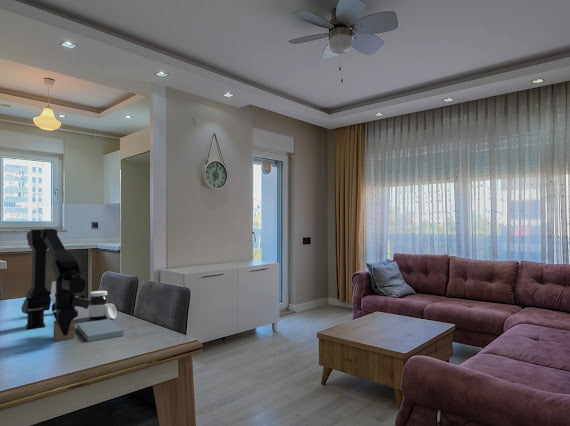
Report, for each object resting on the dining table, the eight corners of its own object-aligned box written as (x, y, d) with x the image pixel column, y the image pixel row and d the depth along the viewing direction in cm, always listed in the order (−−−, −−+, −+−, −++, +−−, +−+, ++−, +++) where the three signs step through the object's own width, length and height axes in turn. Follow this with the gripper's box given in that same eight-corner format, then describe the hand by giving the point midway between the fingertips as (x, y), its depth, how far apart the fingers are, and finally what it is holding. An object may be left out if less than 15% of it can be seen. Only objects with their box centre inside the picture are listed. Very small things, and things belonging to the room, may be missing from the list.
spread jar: (90, 316, 173) (90, 290, 173) (117, 314, 177) (117, 289, 178) (87, 322, 162) (87, 295, 162) (116, 320, 166) (116, 293, 166)
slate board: (77, 328, 153) (77, 323, 153) (109, 323, 160) (109, 318, 160) (87, 341, 135) (87, 336, 135) (123, 335, 142) (123, 330, 143)
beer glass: (71, 312, 180) (71, 281, 181) (55, 315, 175) (56, 282, 175) (63, 311, 184) (63, 279, 185) (47, 314, 178) (48, 281, 179)
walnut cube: (53, 337, 141) (53, 320, 141) (71, 334, 145) (72, 318, 145) (55, 341, 136) (55, 324, 136) (74, 338, 140) (74, 321, 140)
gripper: (93, 291, 138) (93, 335, 138) (84, 285, 153) (83, 324, 153) (58, 295, 132) (57, 341, 131) (51, 288, 146) (51, 329, 146)
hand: (64, 333), depth 140 cm, fingers closed on walnut cube, 6 cm apart
